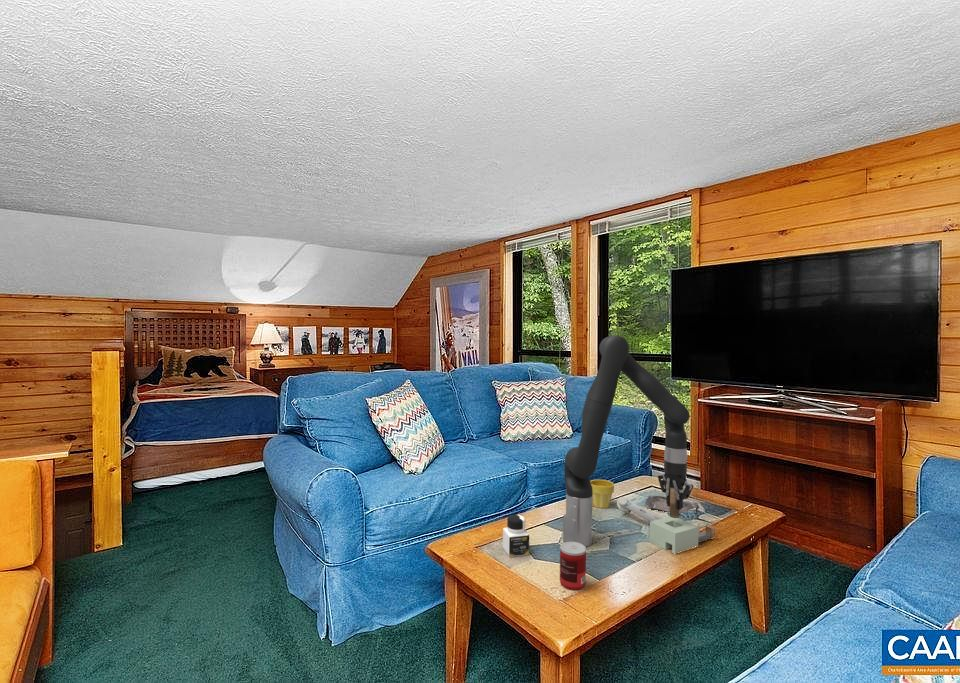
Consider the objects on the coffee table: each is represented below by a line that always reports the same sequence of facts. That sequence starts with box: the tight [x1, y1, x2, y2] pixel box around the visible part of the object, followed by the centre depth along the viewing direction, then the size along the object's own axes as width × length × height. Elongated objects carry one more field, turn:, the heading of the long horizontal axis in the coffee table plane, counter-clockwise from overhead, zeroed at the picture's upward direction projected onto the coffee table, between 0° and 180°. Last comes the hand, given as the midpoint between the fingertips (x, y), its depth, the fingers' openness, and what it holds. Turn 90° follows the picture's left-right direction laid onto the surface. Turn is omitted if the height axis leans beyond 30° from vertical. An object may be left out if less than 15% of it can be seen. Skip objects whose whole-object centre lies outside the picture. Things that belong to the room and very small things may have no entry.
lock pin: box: [698, 524, 716, 543], centre depth 175 cm, size 13×2×4 cm, turn 119°
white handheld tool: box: [616, 496, 664, 523], centre depth 190 cm, size 5×7×25 cm
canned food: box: [559, 542, 587, 591], centre depth 145 cm, size 8×8×11 cm
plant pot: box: [590, 479, 615, 509], centre depth 209 cm, size 10×10×10 cm
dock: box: [648, 516, 700, 554], centre depth 172 cm, size 12×11×7 cm
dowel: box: [669, 487, 680, 519], centre depth 172 cm, size 3×3×10 cm
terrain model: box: [643, 495, 699, 513], centre depth 208 cm, size 20×15×3 cm
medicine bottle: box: [502, 514, 530, 558], centre depth 165 cm, size 7×7×12 cm
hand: (674, 507), depth 172 cm, fingers closed on dowel, 3 cm apart
